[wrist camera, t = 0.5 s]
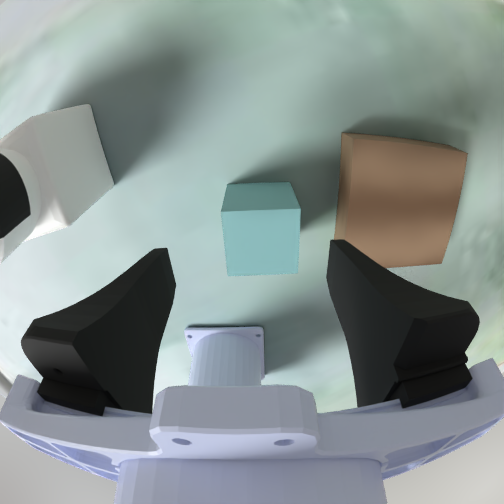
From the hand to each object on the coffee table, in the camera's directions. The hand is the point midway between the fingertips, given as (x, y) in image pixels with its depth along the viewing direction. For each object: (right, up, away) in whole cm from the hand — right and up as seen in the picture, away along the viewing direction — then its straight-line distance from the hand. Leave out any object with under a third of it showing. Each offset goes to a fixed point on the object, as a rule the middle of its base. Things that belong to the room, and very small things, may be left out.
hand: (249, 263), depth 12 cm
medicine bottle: (-15, +8, +6) cm, 18 cm away
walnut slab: (+12, +5, +9) cm, 15 cm away
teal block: (+1, +4, +9) cm, 10 cm away
